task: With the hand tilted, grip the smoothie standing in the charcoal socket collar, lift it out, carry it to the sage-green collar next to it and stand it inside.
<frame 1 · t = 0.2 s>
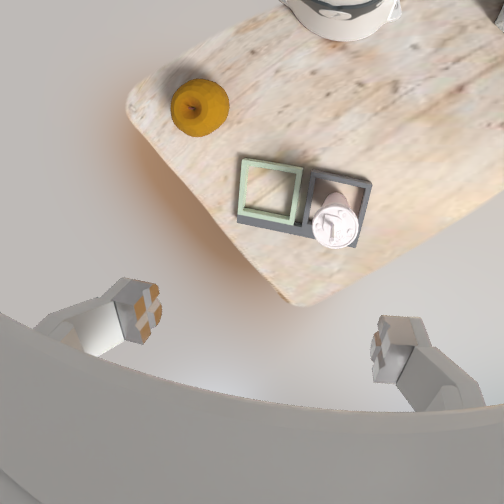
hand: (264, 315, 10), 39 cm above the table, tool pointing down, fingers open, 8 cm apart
smoothie: (336, 202, 47), resting in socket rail
apple: (212, 105, 44), on the table
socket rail: (303, 196, 48), on the table
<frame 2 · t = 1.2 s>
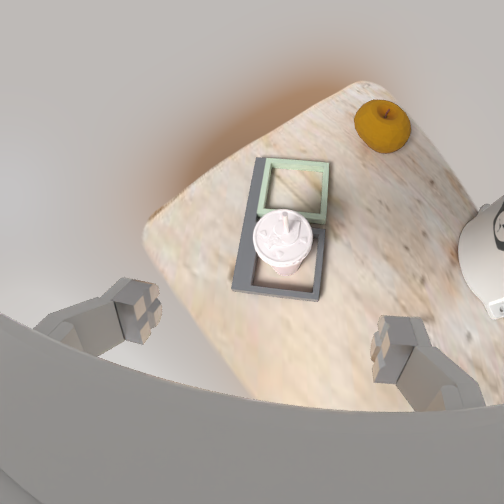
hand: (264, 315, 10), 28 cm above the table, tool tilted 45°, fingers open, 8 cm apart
smoothie: (286, 263, 41), resting in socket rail
apple: (376, 145, 45), on the table
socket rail: (290, 225, 42), on the table
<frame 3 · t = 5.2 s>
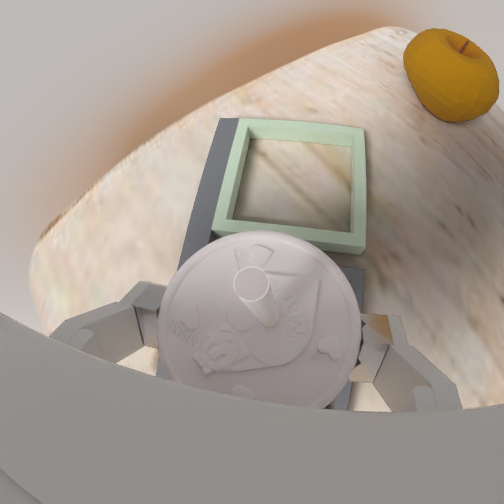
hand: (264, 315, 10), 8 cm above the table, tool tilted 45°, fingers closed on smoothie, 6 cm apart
smoothie: (273, 342, 18), resting in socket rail, touching gripper
apple: (436, 110, 22), on the table
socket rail: (286, 256, 19), on the table
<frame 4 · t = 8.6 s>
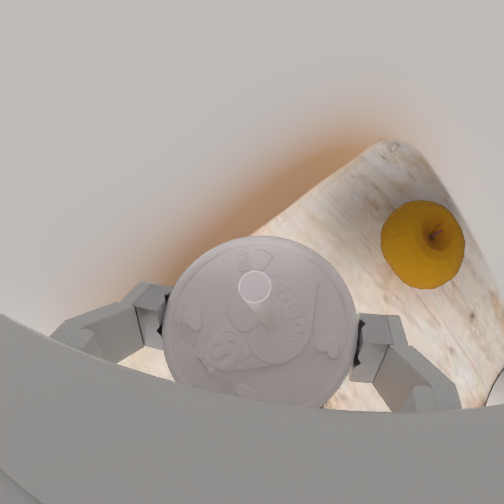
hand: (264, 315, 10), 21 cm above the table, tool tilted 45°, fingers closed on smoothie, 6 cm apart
smoothie: (273, 344, 18), point 12 cm above the table, touching gripper
apple: (406, 260, 31), on the table
when the fingers open (9 cm above the table, at t = 11.6 s): smoothie stays where it is, resting in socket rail.
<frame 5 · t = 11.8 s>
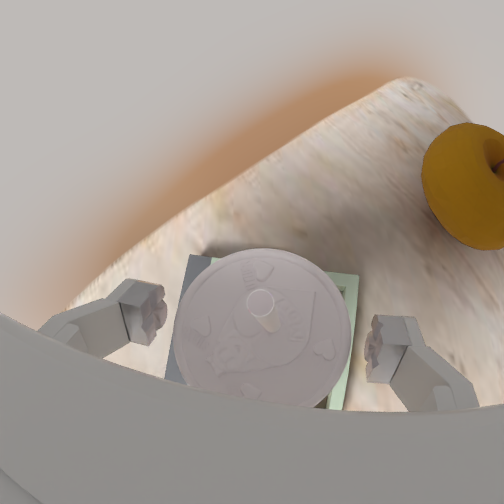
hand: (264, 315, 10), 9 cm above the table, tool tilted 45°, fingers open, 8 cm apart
smoothie: (274, 345, 19), resting in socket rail
apple: (450, 217, 20), on the table
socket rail: (260, 422, 17), on the table
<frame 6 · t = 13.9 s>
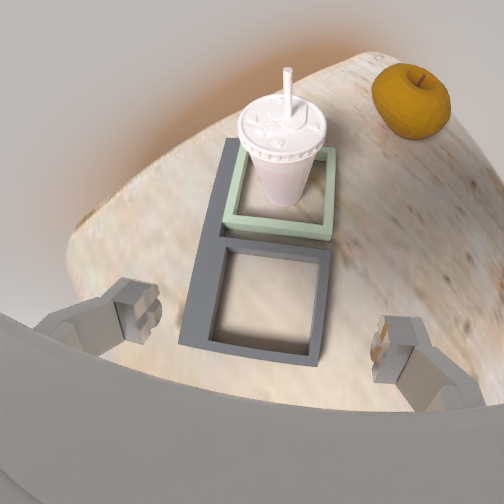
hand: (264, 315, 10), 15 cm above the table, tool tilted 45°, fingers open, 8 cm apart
smoothie: (283, 191, 29), resting in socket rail
apple: (399, 129, 31), on the table
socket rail: (275, 241, 27), on the table
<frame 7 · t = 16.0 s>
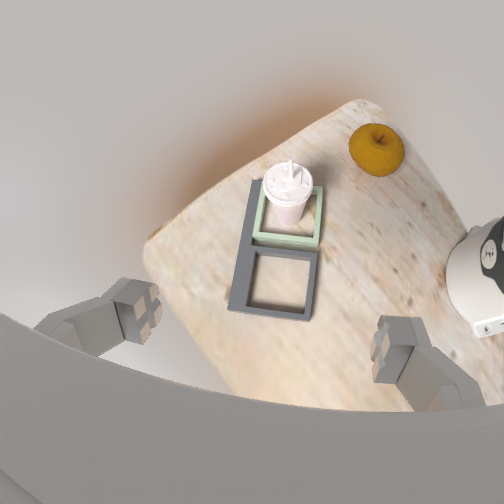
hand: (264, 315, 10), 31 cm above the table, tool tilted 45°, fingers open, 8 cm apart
smoothie: (289, 216, 46), resting in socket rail
apple: (370, 167, 47), on the table
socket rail: (284, 248, 44), on the table
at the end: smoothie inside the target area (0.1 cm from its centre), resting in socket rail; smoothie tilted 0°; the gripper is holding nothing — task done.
